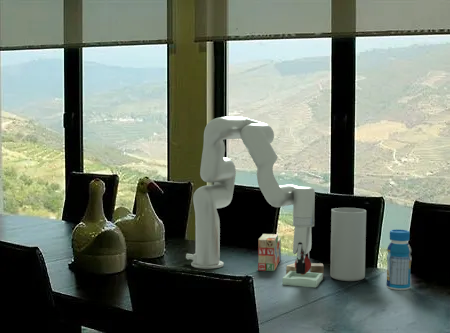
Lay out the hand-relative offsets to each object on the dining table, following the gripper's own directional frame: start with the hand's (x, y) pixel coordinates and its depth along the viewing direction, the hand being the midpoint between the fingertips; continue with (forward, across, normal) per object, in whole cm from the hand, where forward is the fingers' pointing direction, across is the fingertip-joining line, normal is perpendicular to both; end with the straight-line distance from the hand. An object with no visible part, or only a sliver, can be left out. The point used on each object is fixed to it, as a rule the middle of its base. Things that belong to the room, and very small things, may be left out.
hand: (302, 271), depth 257 cm
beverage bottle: (+4, -3, +33) cm, 34 cm away
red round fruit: (+2, 0, 0) cm, 2 cm away
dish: (+4, 0, 0) cm, 4 cm away
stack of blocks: (+4, -24, -18) cm, 30 cm away
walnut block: (+4, -10, +3) cm, 12 cm away
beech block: (+4, -9, -5) cm, 11 cm away
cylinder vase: (+4, -12, +14) cm, 19 cm away
